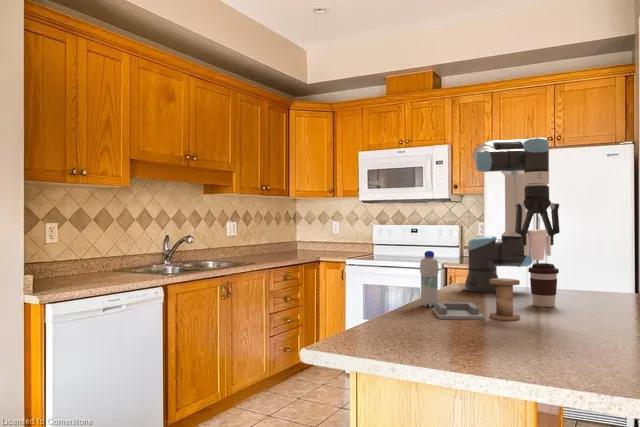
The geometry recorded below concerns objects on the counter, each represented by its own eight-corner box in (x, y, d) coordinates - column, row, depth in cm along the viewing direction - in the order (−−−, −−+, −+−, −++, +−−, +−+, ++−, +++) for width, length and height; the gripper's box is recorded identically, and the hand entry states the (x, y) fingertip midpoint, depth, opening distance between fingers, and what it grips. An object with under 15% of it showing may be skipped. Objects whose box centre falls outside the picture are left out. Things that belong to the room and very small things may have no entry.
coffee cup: (564, 308, 171) (563, 265, 171) (535, 308, 172) (535, 265, 172) (551, 303, 181) (551, 262, 181) (524, 303, 181) (524, 262, 181)
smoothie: (550, 260, 158) (549, 217, 158) (529, 260, 159) (528, 217, 159) (545, 258, 164) (544, 217, 164) (525, 258, 165) (524, 217, 165)
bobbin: (486, 314, 161) (486, 278, 161) (514, 315, 160) (514, 278, 160) (494, 320, 152) (493, 282, 152) (523, 321, 151) (523, 282, 151)
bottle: (437, 304, 180) (437, 250, 180) (440, 308, 173) (439, 251, 173) (419, 304, 180) (418, 250, 180) (421, 307, 174) (420, 251, 174)
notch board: (432, 310, 169) (432, 301, 169) (474, 310, 168) (474, 302, 168) (439, 319, 155) (439, 309, 155) (484, 319, 154) (484, 310, 154)
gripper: (510, 185, 159) (511, 256, 159) (571, 184, 157) (572, 256, 157) (503, 186, 166) (504, 254, 166) (561, 185, 165) (562, 254, 165)
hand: (537, 255), depth 162 cm, fingers closed on smoothie, 6 cm apart
